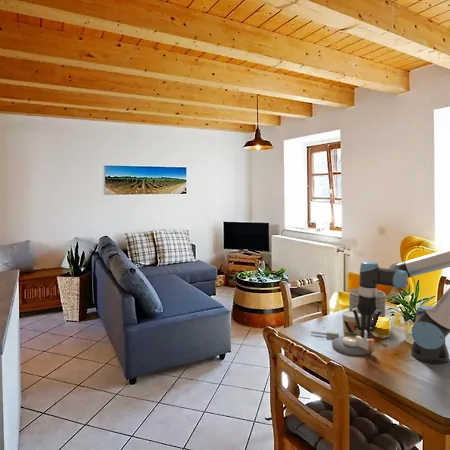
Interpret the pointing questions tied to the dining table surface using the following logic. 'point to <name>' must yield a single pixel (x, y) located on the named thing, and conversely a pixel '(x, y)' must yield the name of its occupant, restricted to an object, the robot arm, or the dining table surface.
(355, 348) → the dark grey round plate
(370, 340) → the cream rounded piece
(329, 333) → the screwdriver
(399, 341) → the dining table surface
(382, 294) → the planter
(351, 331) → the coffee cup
